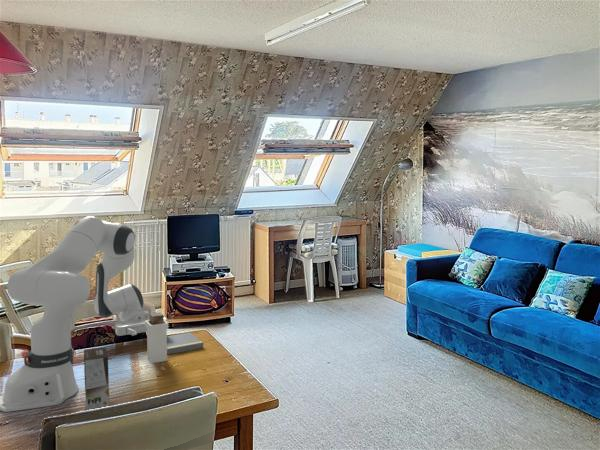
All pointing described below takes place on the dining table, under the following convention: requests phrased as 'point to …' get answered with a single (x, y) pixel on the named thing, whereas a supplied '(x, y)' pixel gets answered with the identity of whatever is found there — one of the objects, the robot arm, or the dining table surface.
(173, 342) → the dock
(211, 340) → the dining table surface
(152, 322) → the block
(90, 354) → the coffee box
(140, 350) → the dining table surface
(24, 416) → the dining table surface
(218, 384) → the dining table surface
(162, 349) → the white tall block
